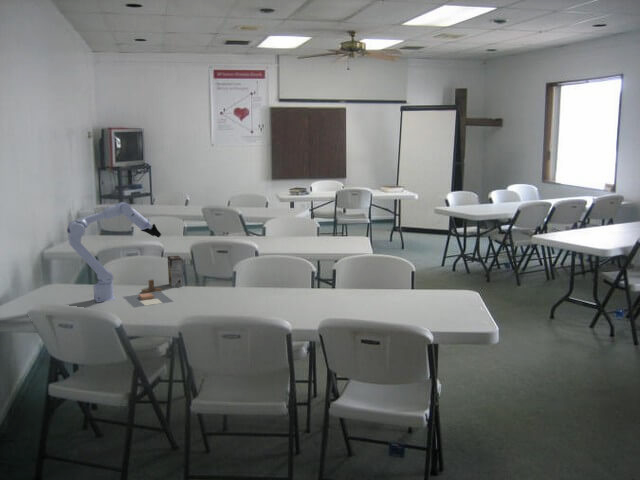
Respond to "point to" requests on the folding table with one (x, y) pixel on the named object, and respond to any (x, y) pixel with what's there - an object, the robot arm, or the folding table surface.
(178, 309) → the folding table surface
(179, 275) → the coffee box
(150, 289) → the brown t-shaped block
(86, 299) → the folding table surface
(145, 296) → the tile
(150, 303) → the slate board
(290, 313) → the folding table surface
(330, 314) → the folding table surface
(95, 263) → the robot arm
